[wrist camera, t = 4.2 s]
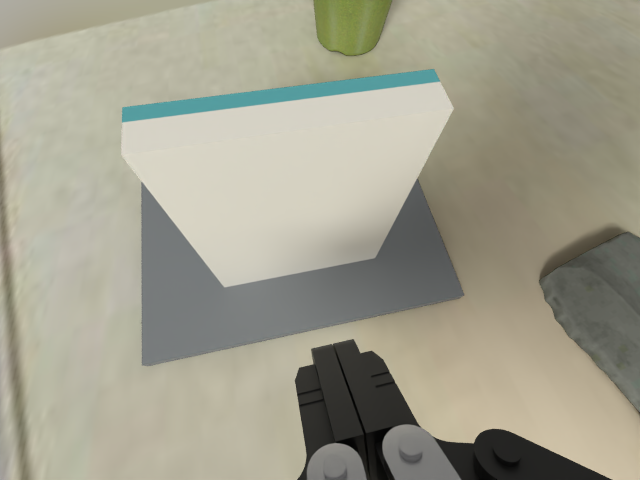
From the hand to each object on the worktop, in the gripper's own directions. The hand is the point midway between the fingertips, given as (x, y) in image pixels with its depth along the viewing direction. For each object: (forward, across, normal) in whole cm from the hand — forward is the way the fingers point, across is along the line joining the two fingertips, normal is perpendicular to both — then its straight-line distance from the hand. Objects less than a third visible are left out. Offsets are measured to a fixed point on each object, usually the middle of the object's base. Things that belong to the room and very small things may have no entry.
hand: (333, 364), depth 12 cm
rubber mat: (+16, 0, -3) cm, 16 cm away
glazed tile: (+11, 0, +1) cm, 11 cm away
